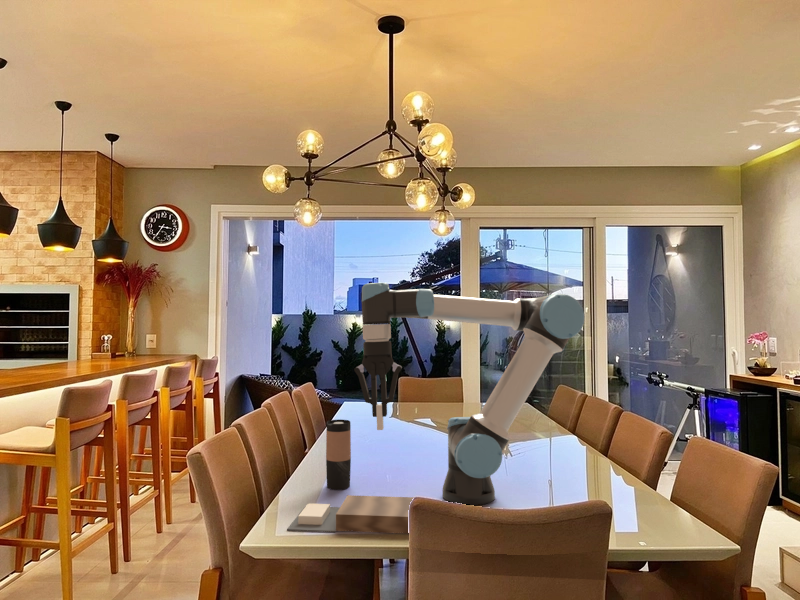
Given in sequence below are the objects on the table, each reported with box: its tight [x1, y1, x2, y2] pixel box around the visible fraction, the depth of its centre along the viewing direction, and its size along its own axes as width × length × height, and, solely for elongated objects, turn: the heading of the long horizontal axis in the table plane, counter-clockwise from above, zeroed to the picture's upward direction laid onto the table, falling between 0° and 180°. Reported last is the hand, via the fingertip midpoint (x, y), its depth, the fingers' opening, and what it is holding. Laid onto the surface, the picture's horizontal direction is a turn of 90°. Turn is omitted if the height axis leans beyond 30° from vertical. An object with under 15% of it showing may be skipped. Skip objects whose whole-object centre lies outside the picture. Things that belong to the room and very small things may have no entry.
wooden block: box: [336, 494, 415, 535], centre depth 132 cm, size 20×14×4 cm
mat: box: [286, 505, 341, 534], centre depth 134 cm, size 12×16×1 cm
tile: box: [297, 503, 331, 525], centre depth 134 cm, size 6×9×2 cm, turn 174°
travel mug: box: [325, 419, 352, 491], centre depth 161 cm, size 8×8×20 cm
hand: (380, 428), depth 138 cm, fingers closed
